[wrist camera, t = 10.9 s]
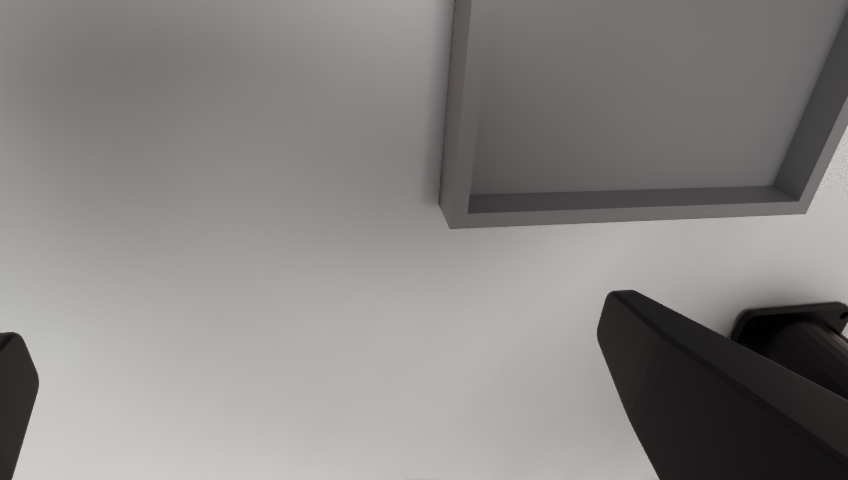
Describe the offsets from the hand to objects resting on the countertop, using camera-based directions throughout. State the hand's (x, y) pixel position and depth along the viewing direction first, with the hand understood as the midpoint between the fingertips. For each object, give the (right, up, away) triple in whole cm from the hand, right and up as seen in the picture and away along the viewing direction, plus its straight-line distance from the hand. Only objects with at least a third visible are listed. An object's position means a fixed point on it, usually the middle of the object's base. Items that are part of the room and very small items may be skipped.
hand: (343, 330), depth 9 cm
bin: (+10, +8, +12) cm, 17 cm away
